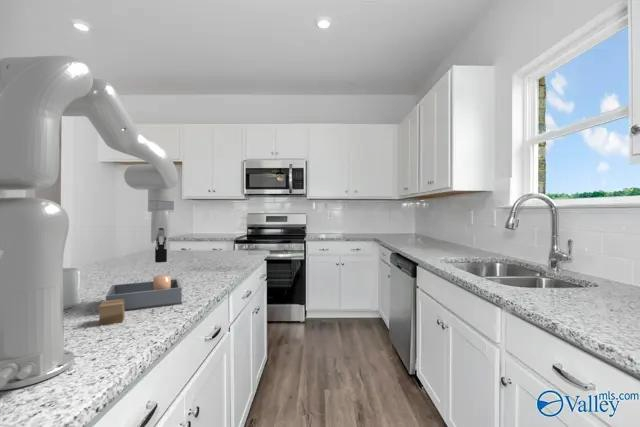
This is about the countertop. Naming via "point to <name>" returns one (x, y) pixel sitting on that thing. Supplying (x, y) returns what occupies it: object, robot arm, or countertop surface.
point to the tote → (145, 295)
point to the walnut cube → (111, 312)
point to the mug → (70, 287)
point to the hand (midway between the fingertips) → (160, 260)
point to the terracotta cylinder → (161, 282)
